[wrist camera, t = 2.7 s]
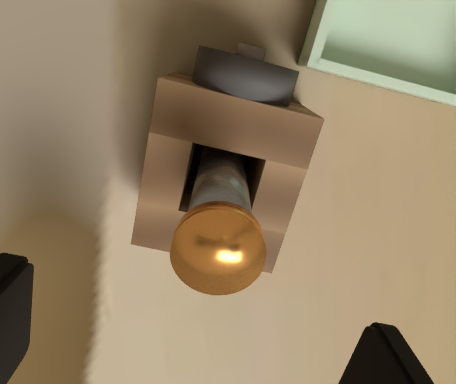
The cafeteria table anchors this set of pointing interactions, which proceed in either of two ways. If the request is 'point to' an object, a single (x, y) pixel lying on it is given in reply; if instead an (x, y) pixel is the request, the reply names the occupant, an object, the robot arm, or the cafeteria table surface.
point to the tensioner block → (226, 142)
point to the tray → (386, 44)
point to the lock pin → (219, 229)
